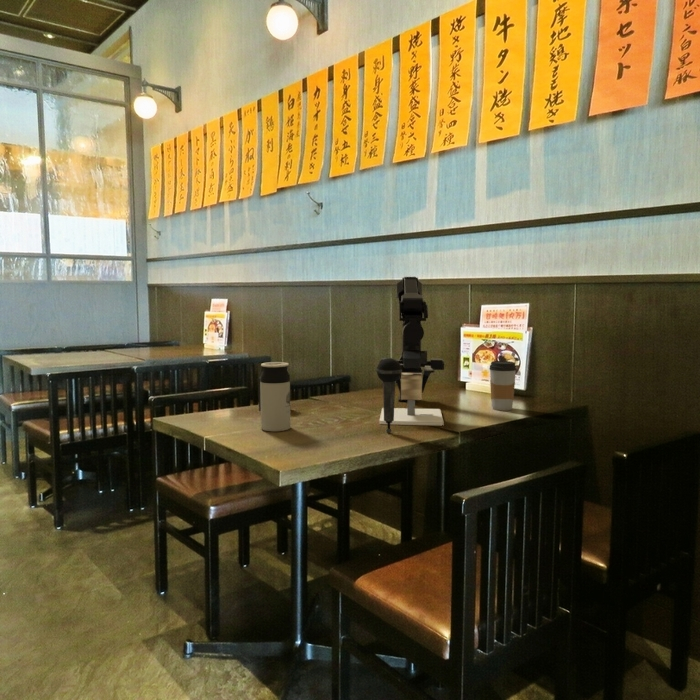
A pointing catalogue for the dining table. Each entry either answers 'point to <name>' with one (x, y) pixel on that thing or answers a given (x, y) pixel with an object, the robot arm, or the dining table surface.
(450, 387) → the dining table surface
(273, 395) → the travel mug
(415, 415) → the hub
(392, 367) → the microphone
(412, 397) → the cardboard box
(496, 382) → the coffee cup
